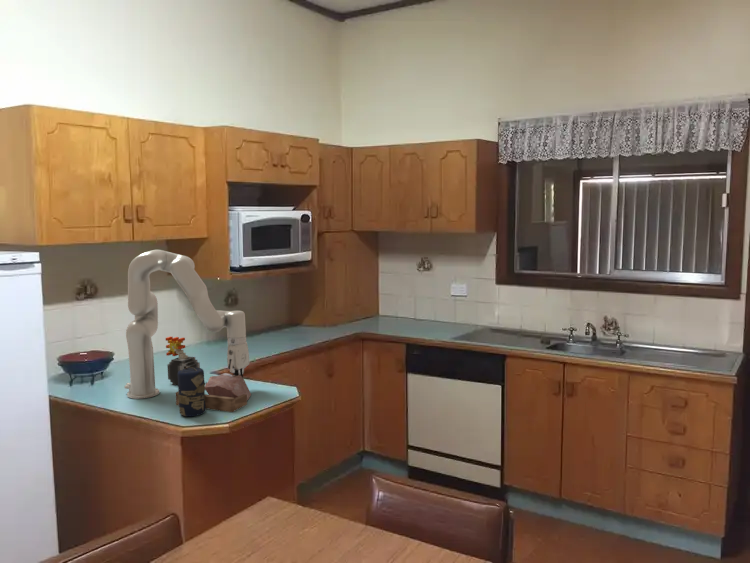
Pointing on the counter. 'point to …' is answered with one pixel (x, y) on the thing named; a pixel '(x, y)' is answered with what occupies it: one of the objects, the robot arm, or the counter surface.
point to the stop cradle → (222, 402)
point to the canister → (191, 391)
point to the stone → (227, 386)
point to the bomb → (178, 359)
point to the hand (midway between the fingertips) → (239, 383)
